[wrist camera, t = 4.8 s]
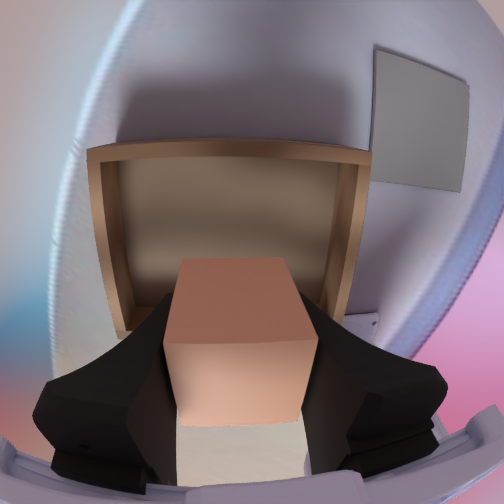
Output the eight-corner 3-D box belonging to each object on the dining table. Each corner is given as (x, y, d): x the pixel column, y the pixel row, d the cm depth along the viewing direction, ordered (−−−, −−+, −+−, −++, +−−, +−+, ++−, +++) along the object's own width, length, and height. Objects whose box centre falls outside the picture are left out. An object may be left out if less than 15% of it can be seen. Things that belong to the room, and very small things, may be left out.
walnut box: (321, 300, 24) (339, 334, 20) (132, 303, 22) (118, 339, 18) (342, 145, 19) (372, 152, 15) (113, 142, 17) (86, 149, 13)
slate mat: (457, 191, 21) (460, 192, 21) (366, 179, 20) (368, 180, 20) (466, 85, 17) (469, 85, 17) (374, 50, 16) (376, 49, 16)
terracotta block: (275, 334, 14) (297, 421, 9) (189, 336, 13) (182, 425, 9) (282, 257, 12) (318, 338, 7) (182, 258, 11) (162, 343, 7)
